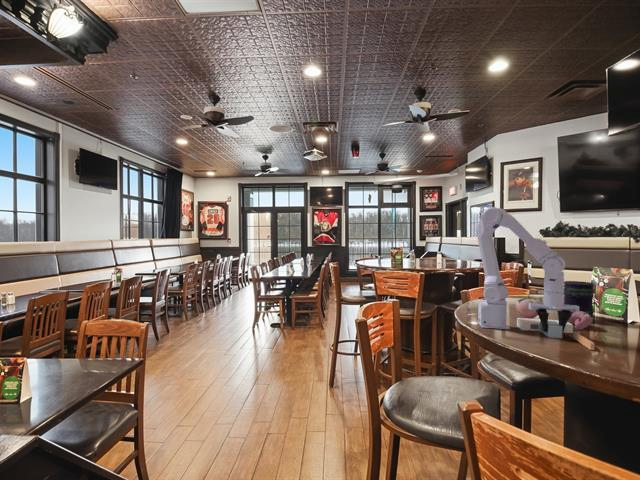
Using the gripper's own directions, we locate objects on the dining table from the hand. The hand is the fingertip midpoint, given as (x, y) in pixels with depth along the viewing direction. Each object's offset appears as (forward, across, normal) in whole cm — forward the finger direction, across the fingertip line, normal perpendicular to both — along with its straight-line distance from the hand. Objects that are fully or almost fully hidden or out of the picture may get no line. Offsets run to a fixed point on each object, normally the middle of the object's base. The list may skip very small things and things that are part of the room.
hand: (552, 331), depth 120 cm
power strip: (+1, 0, +8) cm, 9 cm away
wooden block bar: (+1, +6, -8) cm, 10 cm away
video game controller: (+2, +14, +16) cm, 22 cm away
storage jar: (+2, +19, +30) cm, 35 cm away
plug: (+1, 0, +1) cm, 2 cm away
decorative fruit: (+2, -1, +24) cm, 24 cm away
